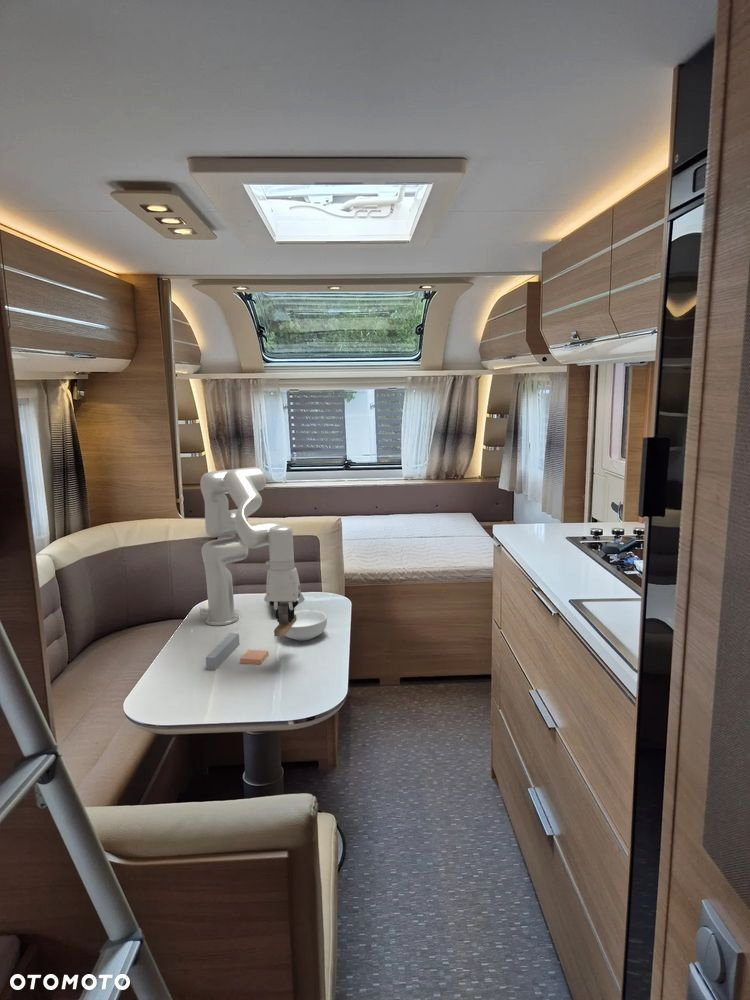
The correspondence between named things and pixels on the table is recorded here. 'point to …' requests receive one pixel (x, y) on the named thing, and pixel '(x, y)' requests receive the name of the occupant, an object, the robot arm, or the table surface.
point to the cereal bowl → (307, 625)
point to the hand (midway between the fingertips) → (285, 620)
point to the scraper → (283, 620)
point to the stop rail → (222, 651)
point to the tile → (254, 656)
